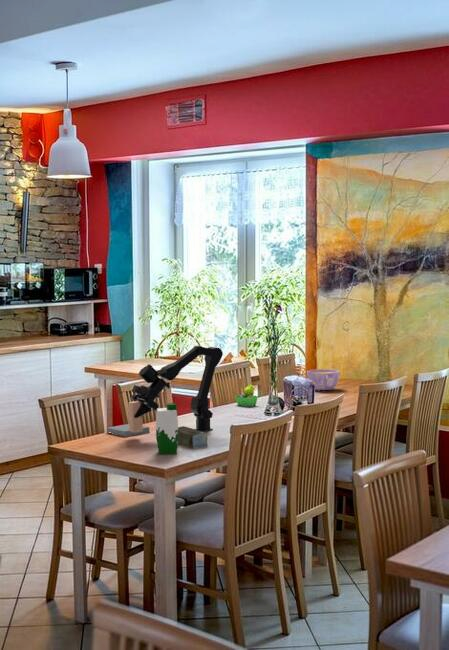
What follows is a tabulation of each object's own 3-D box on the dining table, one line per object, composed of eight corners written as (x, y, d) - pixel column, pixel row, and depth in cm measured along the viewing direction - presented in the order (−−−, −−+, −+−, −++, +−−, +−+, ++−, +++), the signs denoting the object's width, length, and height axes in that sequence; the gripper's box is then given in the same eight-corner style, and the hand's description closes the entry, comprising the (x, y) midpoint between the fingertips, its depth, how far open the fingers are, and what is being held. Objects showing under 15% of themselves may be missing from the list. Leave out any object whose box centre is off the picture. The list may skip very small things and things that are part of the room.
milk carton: (178, 454, 360) (177, 405, 359) (156, 455, 359) (155, 406, 358) (178, 449, 369) (177, 402, 368) (156, 450, 368) (155, 403, 367)
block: (138, 429, 397) (137, 401, 396) (142, 431, 393) (141, 402, 392) (129, 430, 395) (128, 402, 394) (133, 432, 391) (132, 403, 390)
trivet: (149, 432, 408) (149, 427, 408) (125, 436, 399) (124, 431, 399) (131, 428, 419) (131, 423, 418) (106, 433, 409) (106, 427, 409)
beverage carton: (192, 449, 371) (192, 433, 370) (168, 442, 386) (168, 427, 386) (208, 446, 375) (207, 431, 375) (184, 439, 391) (183, 425, 391)
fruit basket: (234, 405, 482) (233, 384, 481) (245, 403, 488) (245, 383, 487) (248, 407, 474) (248, 386, 473) (260, 405, 480) (260, 384, 479)
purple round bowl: (335, 393, 518) (335, 373, 518) (302, 392, 526) (302, 372, 525) (343, 388, 537) (343, 369, 536) (311, 387, 544) (311, 368, 543)
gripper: (134, 376, 402) (112, 402, 398) (151, 380, 386) (128, 408, 382) (150, 391, 407) (129, 418, 402) (168, 396, 391) (145, 424, 386)
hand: (132, 416), depth 393 cm, fingers closed on block, 4 cm apart
